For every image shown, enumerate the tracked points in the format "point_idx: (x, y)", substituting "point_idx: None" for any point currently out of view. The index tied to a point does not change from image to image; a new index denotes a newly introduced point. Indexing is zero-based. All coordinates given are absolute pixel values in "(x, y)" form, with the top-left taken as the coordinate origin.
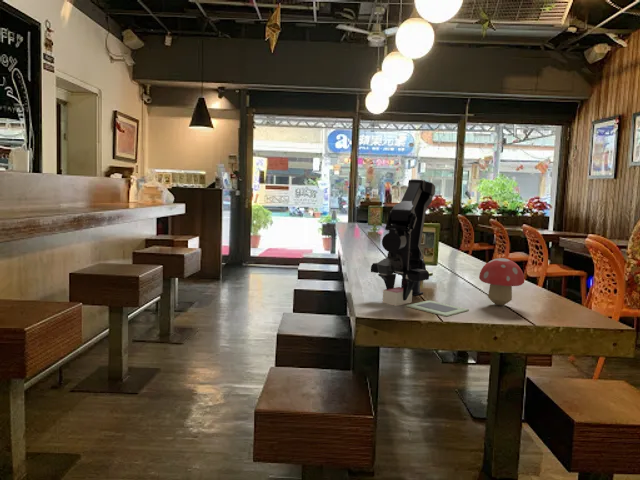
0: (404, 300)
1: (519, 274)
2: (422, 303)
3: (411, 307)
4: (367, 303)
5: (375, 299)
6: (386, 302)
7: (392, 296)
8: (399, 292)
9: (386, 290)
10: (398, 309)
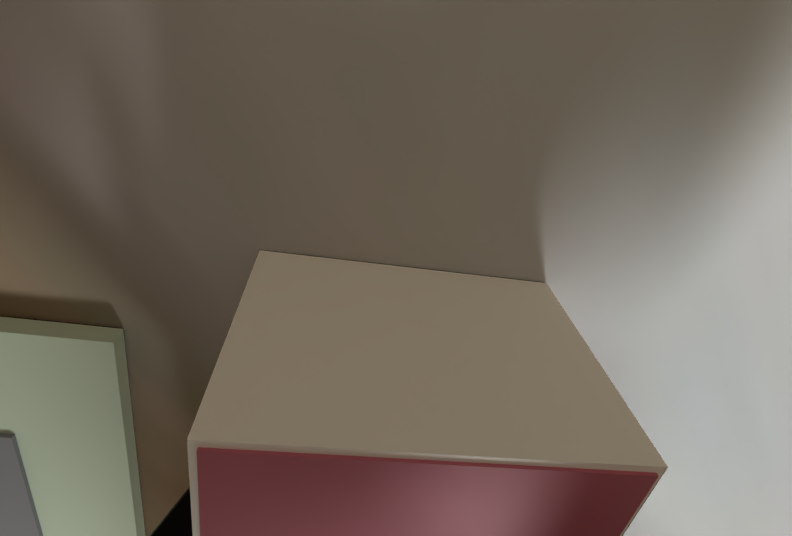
0: None
1: None
2: None
3: (4, 321)
4: (782, 3)
5: (702, 362)
6: (471, 283)
7: (346, 357)
8: (192, 518)
9: (568, 467)
10: (19, 17)
